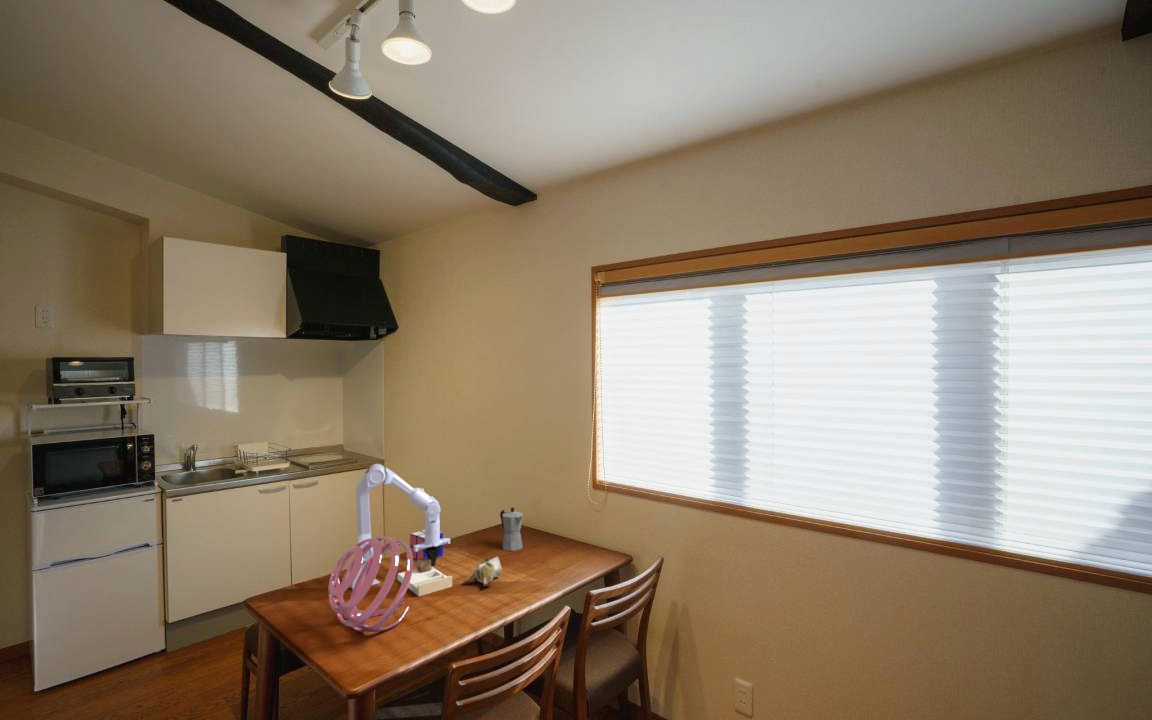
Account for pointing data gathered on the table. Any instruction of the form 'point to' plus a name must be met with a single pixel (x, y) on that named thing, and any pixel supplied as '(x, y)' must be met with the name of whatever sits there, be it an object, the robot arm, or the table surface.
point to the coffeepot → (511, 530)
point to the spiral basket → (368, 584)
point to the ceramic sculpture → (486, 572)
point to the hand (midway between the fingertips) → (432, 565)
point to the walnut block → (424, 565)
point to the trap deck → (427, 581)
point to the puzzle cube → (420, 538)
